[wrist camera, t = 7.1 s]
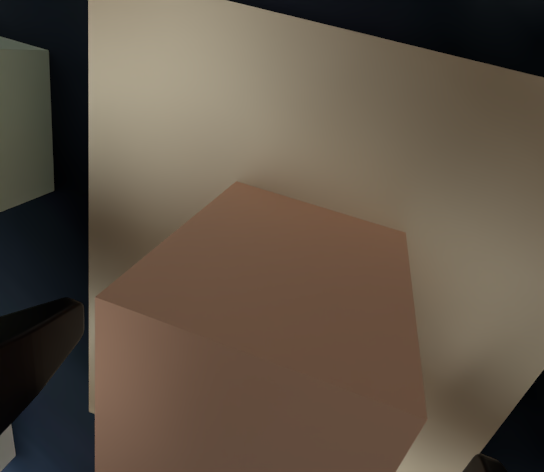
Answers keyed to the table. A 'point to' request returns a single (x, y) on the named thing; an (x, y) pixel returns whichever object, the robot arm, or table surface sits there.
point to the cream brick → (6, 447)
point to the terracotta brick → (260, 345)
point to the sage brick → (24, 124)
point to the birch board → (335, 175)
